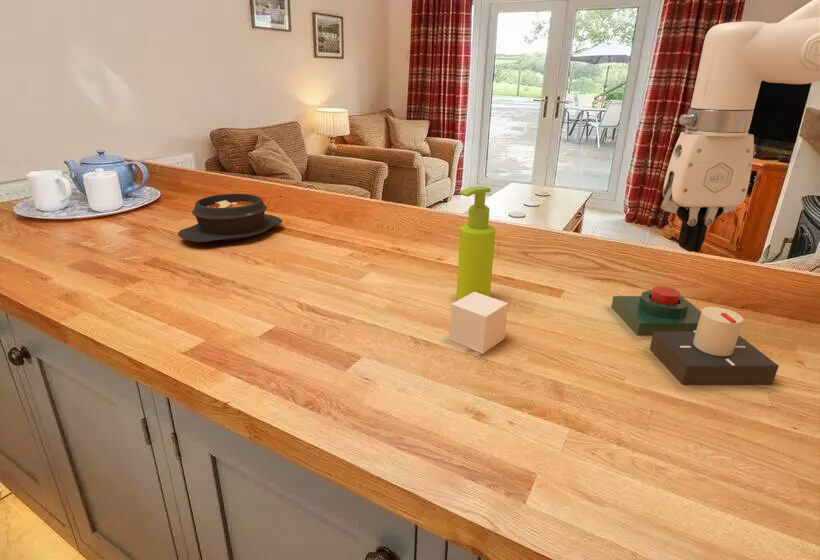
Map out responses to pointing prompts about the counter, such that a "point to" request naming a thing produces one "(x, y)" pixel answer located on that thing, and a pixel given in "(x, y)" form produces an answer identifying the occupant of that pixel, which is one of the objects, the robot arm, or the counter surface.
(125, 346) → the counter surface
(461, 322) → the pale pink cube
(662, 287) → the press top
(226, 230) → the casserole
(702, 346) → the lock knob
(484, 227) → the soap dispenser
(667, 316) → the button base
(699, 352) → the dial panel
